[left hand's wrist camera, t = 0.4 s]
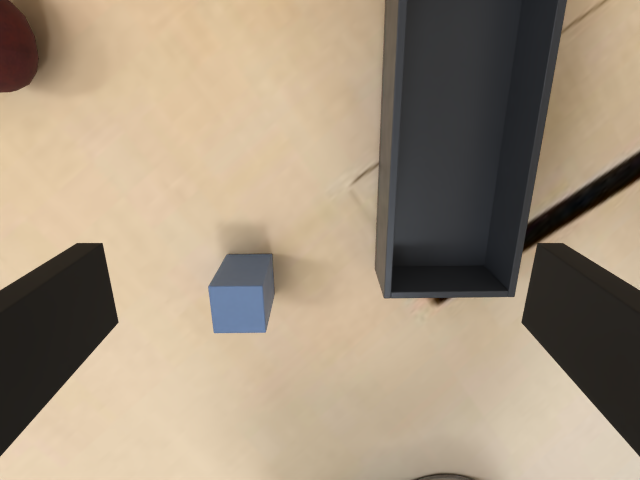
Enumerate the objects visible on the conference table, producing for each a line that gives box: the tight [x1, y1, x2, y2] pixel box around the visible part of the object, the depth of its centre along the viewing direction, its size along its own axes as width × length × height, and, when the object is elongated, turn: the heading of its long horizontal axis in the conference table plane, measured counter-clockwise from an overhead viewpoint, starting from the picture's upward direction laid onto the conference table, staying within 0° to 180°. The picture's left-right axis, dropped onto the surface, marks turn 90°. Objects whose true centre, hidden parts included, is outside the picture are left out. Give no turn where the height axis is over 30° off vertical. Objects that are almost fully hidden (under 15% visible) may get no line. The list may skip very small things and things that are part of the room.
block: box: [208, 254, 275, 333], centre depth 37 cm, size 4×4×7 cm
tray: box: [375, 0, 567, 298], centre depth 32 cm, size 27×11×6 cm, turn 1°
